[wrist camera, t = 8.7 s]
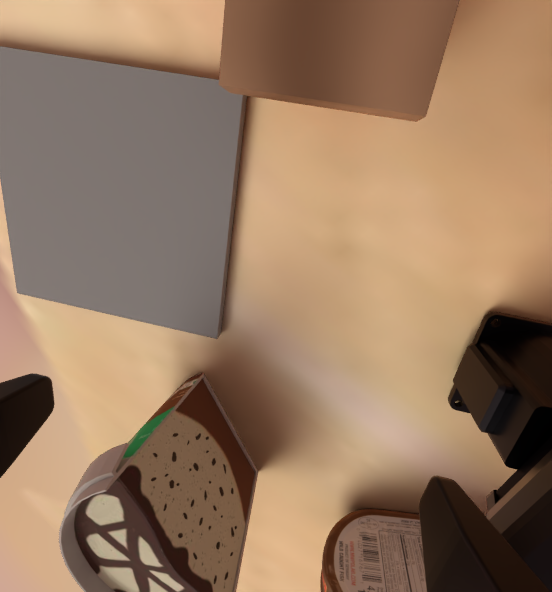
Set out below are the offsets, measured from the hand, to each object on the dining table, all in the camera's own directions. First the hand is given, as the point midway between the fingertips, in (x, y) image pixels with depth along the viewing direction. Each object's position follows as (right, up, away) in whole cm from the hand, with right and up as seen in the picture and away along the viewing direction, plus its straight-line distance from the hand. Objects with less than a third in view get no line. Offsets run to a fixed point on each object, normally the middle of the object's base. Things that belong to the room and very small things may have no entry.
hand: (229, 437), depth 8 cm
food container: (-5, -7, +18) cm, 20 cm away
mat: (-8, +9, +12) cm, 17 cm away
